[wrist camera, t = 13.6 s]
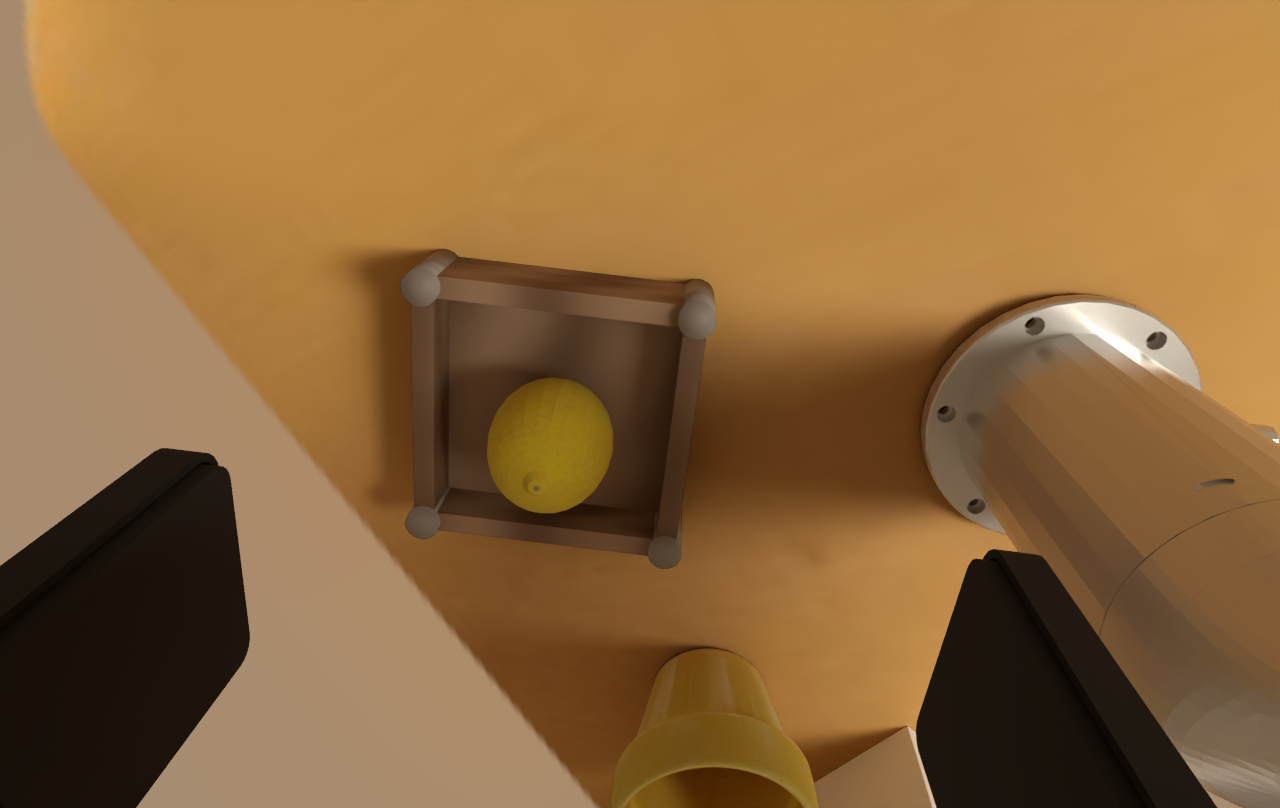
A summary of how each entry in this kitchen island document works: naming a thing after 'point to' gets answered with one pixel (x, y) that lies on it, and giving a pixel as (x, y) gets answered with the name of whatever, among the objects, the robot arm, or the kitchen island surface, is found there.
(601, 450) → the lemon
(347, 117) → the kitchen island surface
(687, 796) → the plant pot
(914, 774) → the milk
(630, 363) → the wooden square tray
